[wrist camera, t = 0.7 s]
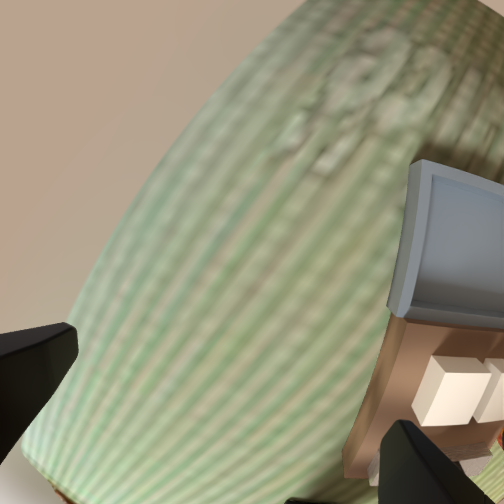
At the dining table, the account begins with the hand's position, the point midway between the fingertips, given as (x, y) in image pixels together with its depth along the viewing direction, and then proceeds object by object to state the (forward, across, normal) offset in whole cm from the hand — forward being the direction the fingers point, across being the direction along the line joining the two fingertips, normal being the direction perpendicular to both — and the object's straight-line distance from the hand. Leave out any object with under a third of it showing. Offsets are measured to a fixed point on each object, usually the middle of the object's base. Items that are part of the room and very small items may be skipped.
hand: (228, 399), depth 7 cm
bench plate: (+12, -17, +8) cm, 22 cm away
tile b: (+10, -14, +4) cm, 17 cm away
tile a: (+9, -19, +4) cm, 21 cm away
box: (+14, -16, -4) cm, 22 cm away
